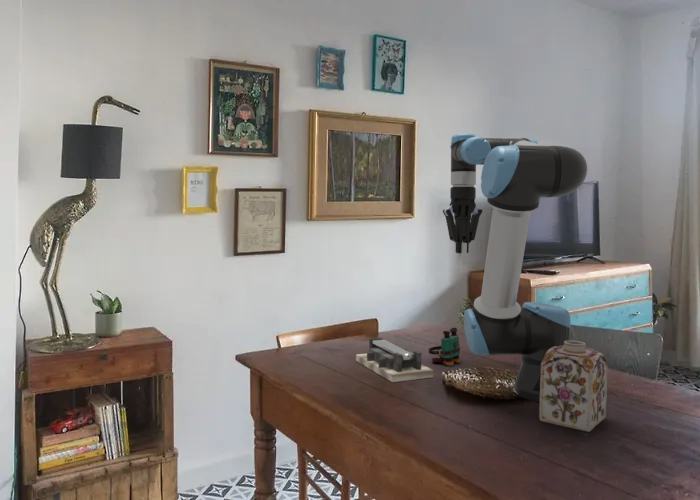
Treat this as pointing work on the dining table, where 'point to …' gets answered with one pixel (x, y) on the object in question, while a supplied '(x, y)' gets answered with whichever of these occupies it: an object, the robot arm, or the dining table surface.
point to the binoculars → (448, 348)
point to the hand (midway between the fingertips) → (461, 264)
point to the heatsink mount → (393, 364)
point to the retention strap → (394, 349)
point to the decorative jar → (573, 386)
